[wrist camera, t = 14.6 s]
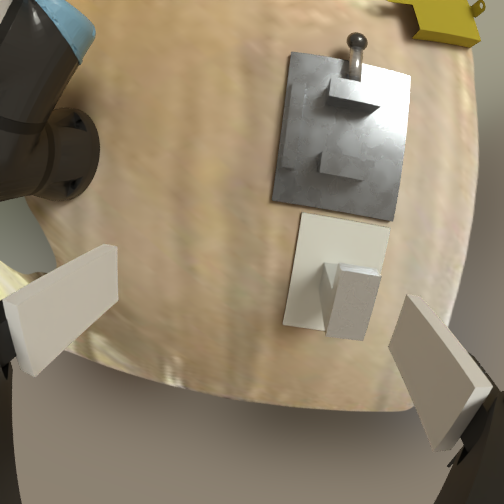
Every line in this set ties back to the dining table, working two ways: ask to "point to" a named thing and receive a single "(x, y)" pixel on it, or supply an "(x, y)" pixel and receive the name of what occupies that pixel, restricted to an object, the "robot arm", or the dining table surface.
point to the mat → (328, 261)
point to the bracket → (446, 21)
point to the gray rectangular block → (347, 299)
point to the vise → (342, 134)
